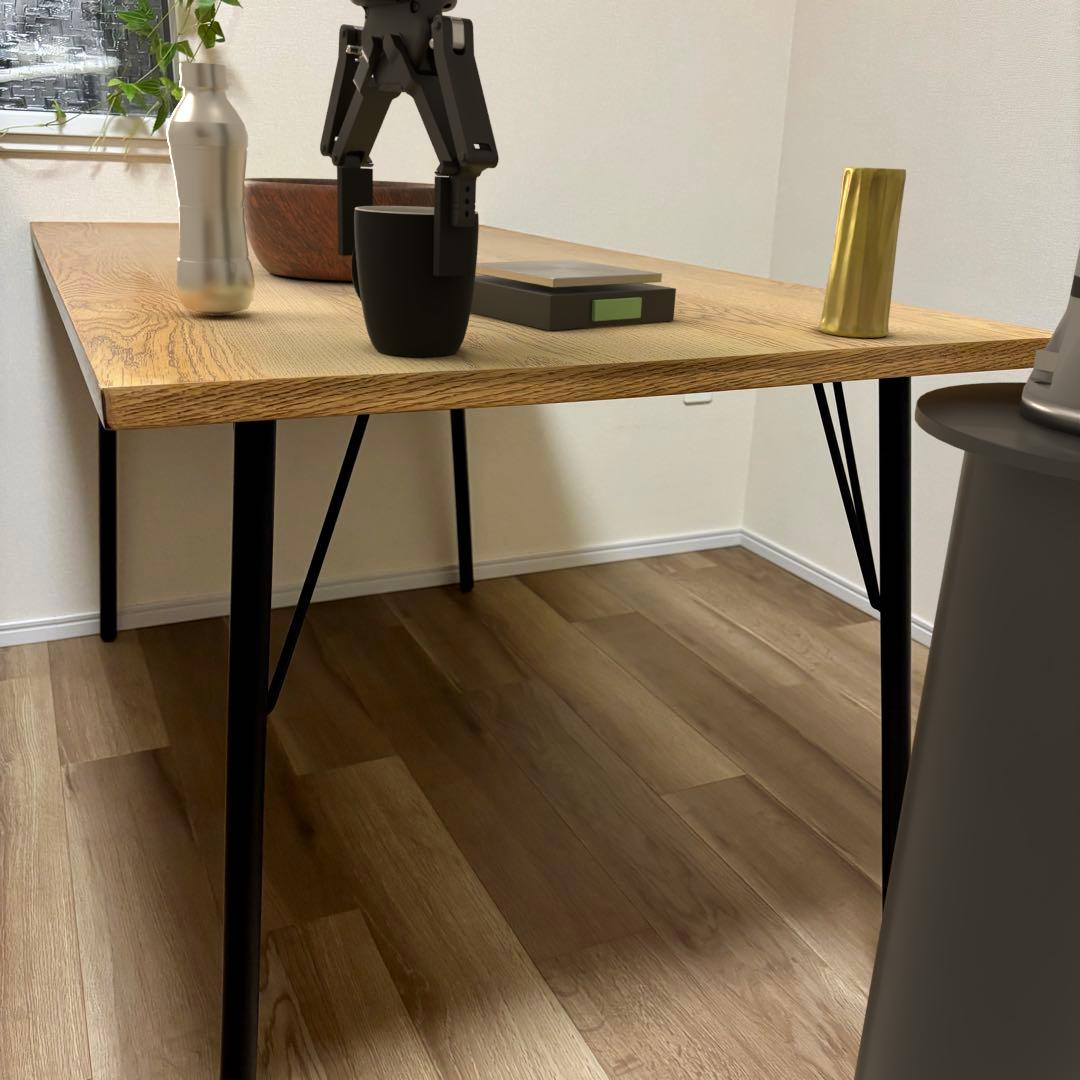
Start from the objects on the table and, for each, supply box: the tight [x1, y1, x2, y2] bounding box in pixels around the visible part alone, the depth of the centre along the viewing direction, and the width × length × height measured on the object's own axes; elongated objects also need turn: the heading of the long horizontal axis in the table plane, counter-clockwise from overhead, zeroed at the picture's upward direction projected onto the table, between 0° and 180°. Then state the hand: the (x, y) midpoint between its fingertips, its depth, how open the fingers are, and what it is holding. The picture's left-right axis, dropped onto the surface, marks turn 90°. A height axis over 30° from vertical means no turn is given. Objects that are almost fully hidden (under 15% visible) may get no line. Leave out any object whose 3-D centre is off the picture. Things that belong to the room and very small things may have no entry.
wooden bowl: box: [243, 177, 435, 282], centre depth 127 cm, size 25×25×10 cm
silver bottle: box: [166, 62, 256, 317], centre depth 91 cm, size 6×7×20 cm
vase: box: [818, 166, 907, 339], centre depth 97 cm, size 6×6×14 cm
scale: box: [470, 274, 677, 332], centre depth 102 cm, size 15×15×3 cm
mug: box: [351, 206, 480, 358], centre depth 81 cm, size 12×9×10 cm
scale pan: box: [475, 259, 663, 288], centre depth 102 cm, size 13×13×1 cm
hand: (401, 265), depth 81 cm, fingers open, 13 cm apart
